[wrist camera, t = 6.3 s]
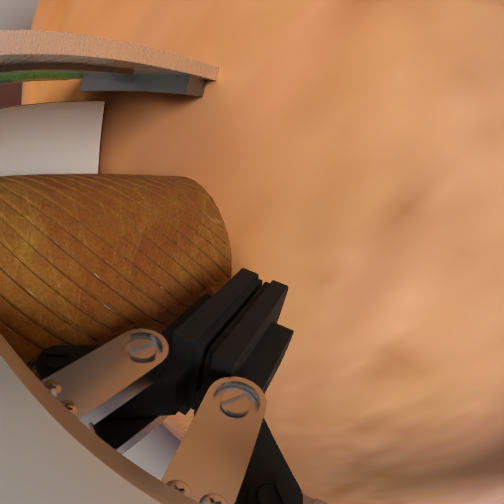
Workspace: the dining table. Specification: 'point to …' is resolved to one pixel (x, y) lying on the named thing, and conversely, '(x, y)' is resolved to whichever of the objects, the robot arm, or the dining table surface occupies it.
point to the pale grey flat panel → (51, 138)
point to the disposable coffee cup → (103, 256)
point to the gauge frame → (98, 63)
